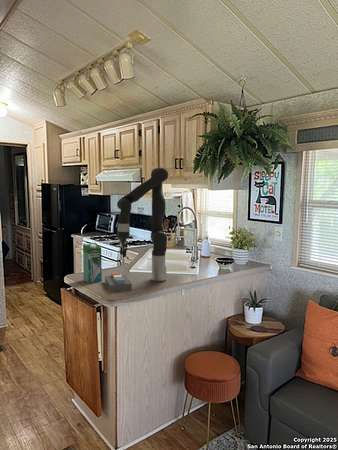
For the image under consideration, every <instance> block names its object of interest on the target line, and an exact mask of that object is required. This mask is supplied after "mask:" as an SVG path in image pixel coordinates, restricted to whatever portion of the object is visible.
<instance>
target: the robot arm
mask: <svg viewBox="0 0 338 450" xmlns="http://www.w3.org/2000/svg"><path fill="white" fill-rule="evenodd" d="M168 178H169V171H168V170H167V169H166V168H165V167H155V168H153V169H152V170H151V174H150V178H149V179H147V180H146V181H144V182H143V183H140V184H139V185H138V186H136V187H135V188H134V189H132V190H131V191H130V192H129V193H128V194H127V193H126V194H125V195H124V196H122V197H121V198H119V199H118V201H117V203H116V205H117V208H118V209H119V210H120V212H119V215H118V218H117V236H116V237H117V239H119V244H118V247H119V254H120V255H122V258H126V257H127V251H128V240H127V239H130V216H131V212H132V204H133V203H137V202H139V200H140V199H141V198H143V197H144V196H145V195H146V194H148V192H150V191H151V230H150V231H151V232H150V240H151V242H152V243H153V248H152V250H151V280H152V281H154V282H163V281H167V265H166V252H167V248H168V247H167V244H168V238H167V234H166V233H165V232H163V222H164V218H165V214H166V199H165V195H164V193H163V183H164V182H165V181H167V179H168Z"/></svg>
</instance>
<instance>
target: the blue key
mask: <svg viewBox="0 0 338 450" xmlns="http://www.w3.org/2000/svg"><path fill="white" fill-rule="evenodd" d="M115 284H116V285H119V284H125V279H124V278H115Z"/></svg>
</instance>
